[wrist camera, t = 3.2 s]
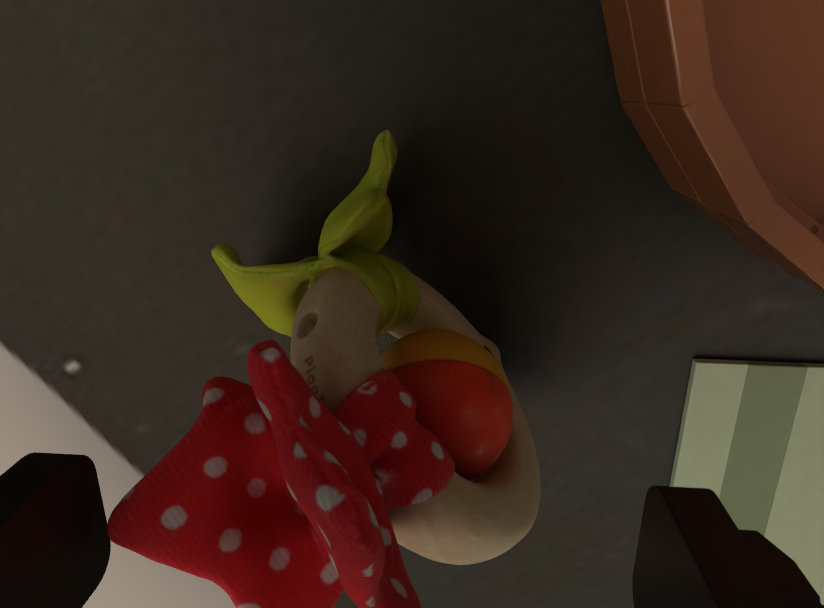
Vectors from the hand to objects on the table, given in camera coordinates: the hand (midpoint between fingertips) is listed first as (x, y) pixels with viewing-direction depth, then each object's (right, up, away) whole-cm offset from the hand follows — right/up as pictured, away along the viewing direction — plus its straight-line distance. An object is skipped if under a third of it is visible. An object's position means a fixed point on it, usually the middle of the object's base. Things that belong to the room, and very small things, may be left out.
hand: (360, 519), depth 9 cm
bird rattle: (+1, +3, +9) cm, 9 cm away
